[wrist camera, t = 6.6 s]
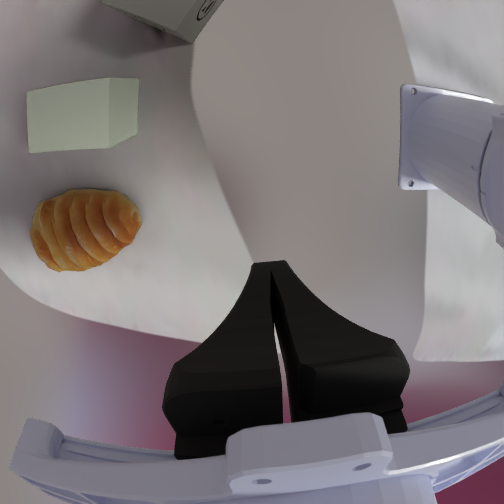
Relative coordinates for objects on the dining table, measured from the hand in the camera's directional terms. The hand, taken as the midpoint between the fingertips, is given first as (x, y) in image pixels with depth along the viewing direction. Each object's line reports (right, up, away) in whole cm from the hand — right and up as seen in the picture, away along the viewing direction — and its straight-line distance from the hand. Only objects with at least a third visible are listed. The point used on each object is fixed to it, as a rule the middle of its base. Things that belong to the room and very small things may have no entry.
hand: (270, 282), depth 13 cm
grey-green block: (-11, +11, +6) cm, 17 cm away
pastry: (-14, +4, +10) cm, 18 cm away
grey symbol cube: (-5, +18, +2) cm, 19 cm away
